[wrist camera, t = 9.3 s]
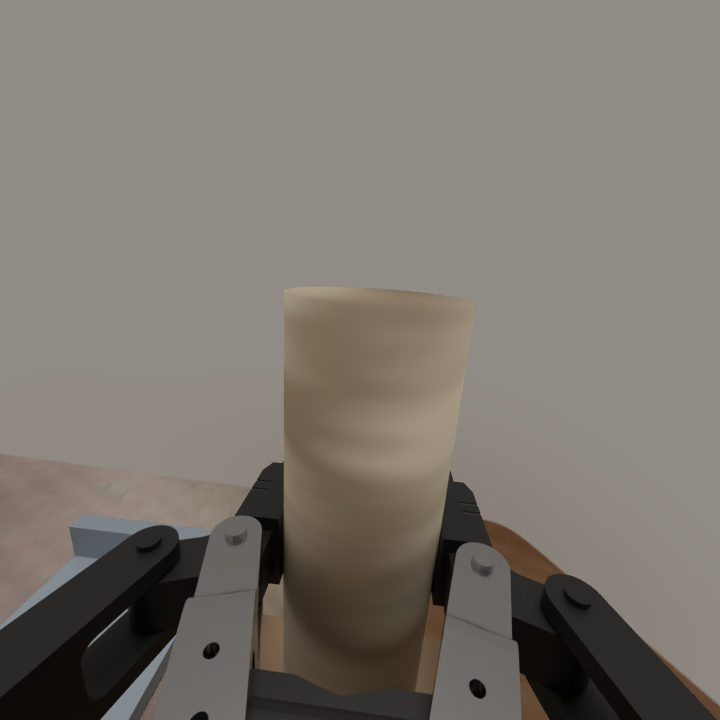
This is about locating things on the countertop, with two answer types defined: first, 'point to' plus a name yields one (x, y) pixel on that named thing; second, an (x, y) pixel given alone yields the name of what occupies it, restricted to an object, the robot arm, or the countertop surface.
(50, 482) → the countertop surface
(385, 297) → the axle
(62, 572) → the cradle
